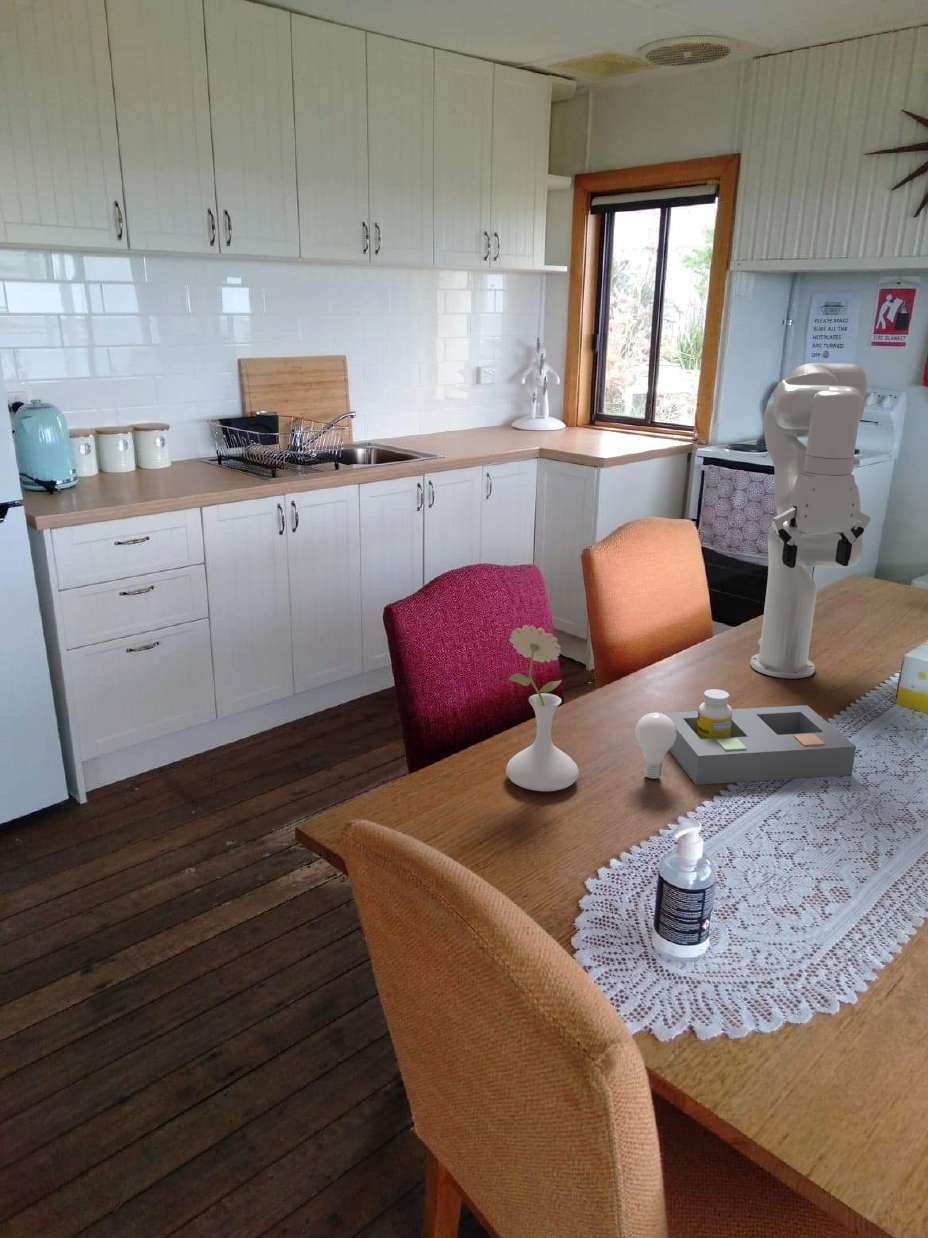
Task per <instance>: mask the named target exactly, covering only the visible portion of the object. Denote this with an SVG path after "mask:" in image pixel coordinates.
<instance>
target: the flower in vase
mask: <svg viewBox="0 0 928 1238" xmlns="http://www.w3.org/2000/svg"><path fill="white" fill-rule="evenodd" d="M508 640H509V642H510V643H511V644H513V645H512V647H513V648H514V649H516V652H517V653H518V654H520V655H522V656H523V657H524V658H525V659H526V658H527V659H528V658H530V663H529V670H528V672H529V673H528V674H529V675H528V676H529V677H528V676H526V675H524V674H522V673H520V672H519V673H518V672H516V673H514V674H512V675H511V676H510V677H509V678H508V681H512V682H515V683H518V684H520V685H522V686H524V687H526V686H527V687H528V686H530V684H531V685H532V687H533V688H534V689H535V691H536V694H532V695H530V696H529V697H528V698H527V699H528V702H529V704H530V705H531V706H532V708H533V711H534V715H535V721H536V736H535V740H534V742H533V743H532V744H531V745H530V746H528V747H526V748H524V749H522V750H521V751H519V752H517V753H516V754H515V755H514V756H512V757H511V758H510V759H509V761H508V762H507V764H506V767H505V773H506V775H507V777H508V778H509V779H510V782H512V783H513V784H515V785H517V786H519V787H520V788H523V789H526V790H531V791H535V792H556V791H559V790H564V789H567V788H568V787H570V786H571V785H573V784H574V783H575V781H576V780H578V778H579V774H580V771H579V768H578V765H577V764H576V762H575V761H574V760H573V759H572V758H571V757H570V756H569V755H568V754H567V753H565V751H562V750H561V749H559V748H558V747H556V746H555V744H553V741H552V724H553V719H554V714H555V712H556V709H557V708H558V707H559V706H560V704H562V698H561V697H559V696H558V695H555V694H552V693H549V692H551V691H553V690H555V689H556V688H557V687H559V686H560V684H561V683H562V682H563V681H562V679H560V680H556V681H549V682H547V683H546V684H544V685H543V686H542V687H541V688H540V689H538V687H537V686H536V683H535V682H534V680H533V677H532V670H533V662H534V661H535V662H536V661H537V662H540V663H544V662H547V663H550V662H551V661H557V660H558V657H559V656H560V655H561V653H562V650H561V648H562V646H561V645H560V644H559V643H558V638H557V637H554V635H553V633H549V632H548V633H547V632H545V629H544V628H543V627H539V628H536V627H535V626H533V625H530V626H528V625H526V624H524V625H523V626H522V628H520V627H516V628H515V630H512V634H510V638H509V639H508Z"/></svg>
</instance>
